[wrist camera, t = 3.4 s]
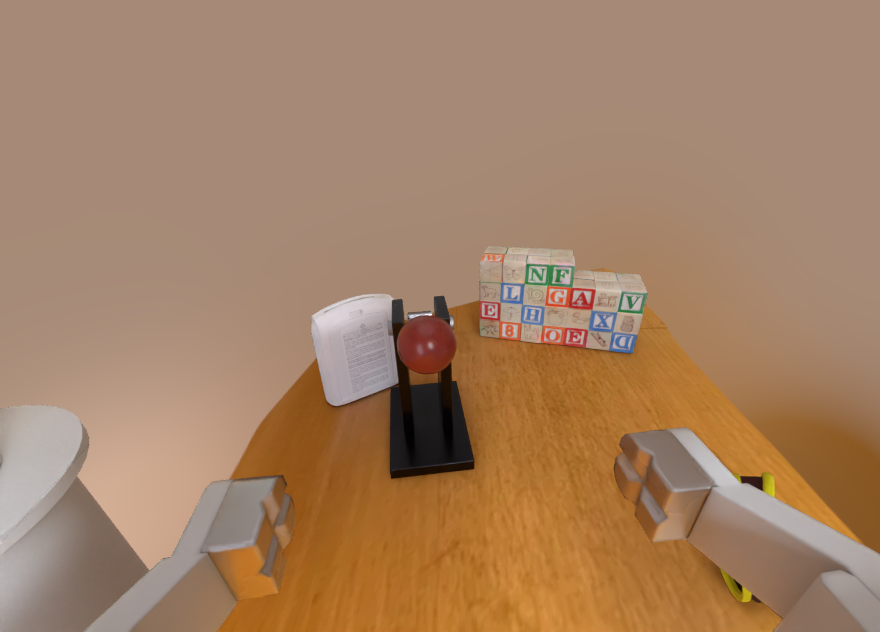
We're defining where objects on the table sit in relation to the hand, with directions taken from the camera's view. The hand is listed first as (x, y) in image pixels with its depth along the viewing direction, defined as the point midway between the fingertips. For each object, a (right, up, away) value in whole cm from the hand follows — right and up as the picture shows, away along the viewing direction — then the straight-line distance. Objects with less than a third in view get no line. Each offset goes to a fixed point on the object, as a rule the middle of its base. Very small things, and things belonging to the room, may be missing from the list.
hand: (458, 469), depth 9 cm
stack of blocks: (+16, +1, +48) cm, 50 cm away
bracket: (-2, -8, +32) cm, 33 cm away
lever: (-2, +1, +20) cm, 20 cm away
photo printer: (-10, -5, +39) cm, 40 cm away
